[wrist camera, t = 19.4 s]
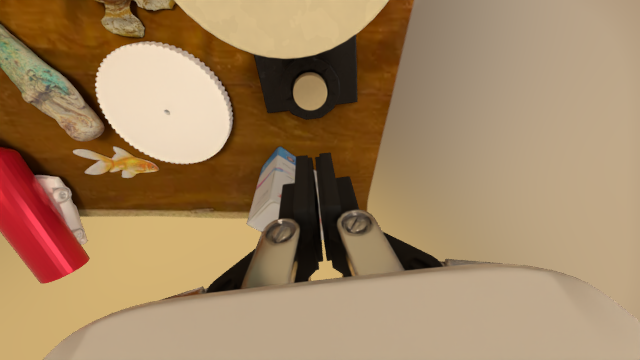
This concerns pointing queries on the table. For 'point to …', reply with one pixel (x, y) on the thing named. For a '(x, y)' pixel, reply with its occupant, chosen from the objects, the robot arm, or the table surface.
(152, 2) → the fruit
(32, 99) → the figurine
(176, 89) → the plastic lid
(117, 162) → the fish
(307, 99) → the lamp button
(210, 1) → the lamp
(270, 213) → the ink box
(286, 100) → the lamp base
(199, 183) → the table surface
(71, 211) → the toy car
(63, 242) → the bottle
